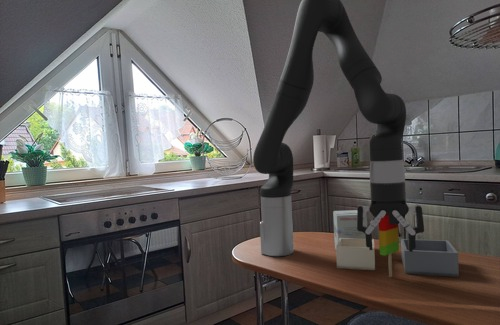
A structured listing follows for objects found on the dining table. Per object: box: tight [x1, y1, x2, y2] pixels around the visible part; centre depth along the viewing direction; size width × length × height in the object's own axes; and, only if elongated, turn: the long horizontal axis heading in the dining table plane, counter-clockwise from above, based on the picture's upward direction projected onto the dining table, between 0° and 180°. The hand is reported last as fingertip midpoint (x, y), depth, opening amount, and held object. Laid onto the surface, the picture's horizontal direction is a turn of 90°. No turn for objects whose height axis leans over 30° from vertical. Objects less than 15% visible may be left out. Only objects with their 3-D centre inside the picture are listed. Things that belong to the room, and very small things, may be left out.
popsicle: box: [378, 214, 400, 278], centre depth 82 cm, size 6×2×15 cm, turn 126°
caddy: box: [400, 238, 460, 278], centre depth 88 cm, size 11×11×6 cm
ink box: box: [332, 209, 368, 250], centre depth 104 cm, size 9×9×12 cm
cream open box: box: [335, 238, 376, 271], centre depth 93 cm, size 9×9×6 cm
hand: (390, 250), depth 82 cm, fingers open, 8 cm apart
